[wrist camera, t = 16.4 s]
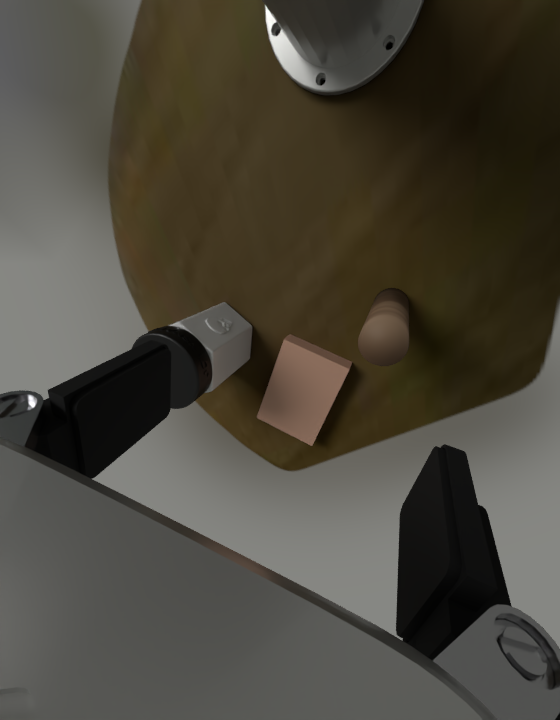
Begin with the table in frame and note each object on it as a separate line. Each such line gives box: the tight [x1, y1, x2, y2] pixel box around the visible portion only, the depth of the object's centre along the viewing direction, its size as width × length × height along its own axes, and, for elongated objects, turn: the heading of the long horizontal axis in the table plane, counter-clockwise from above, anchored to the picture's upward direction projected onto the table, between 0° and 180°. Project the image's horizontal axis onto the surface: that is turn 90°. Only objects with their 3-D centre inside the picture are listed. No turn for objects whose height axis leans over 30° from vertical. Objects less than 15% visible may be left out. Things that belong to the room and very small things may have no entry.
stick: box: [358, 288, 409, 366], centre depth 28 cm, size 3×3×12 cm
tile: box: [257, 334, 352, 446], centre depth 39 cm, size 2×8×12 cm
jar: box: [132, 302, 252, 409], centre depth 36 cm, size 9×8×12 cm
